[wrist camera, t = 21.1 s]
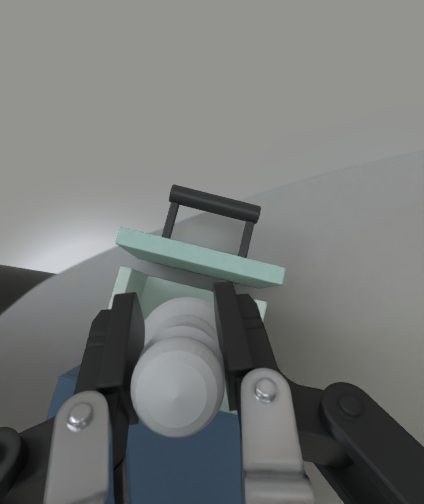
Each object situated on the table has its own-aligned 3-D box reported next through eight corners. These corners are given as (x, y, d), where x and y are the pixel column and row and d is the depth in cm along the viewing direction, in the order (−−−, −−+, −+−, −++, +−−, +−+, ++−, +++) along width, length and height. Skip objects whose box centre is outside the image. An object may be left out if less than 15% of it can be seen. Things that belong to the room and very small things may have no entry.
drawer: (154, 198, 28) (139, 161, 21) (271, 227, 29) (299, 202, 21) (97, 397, 26) (55, 441, 18) (227, 429, 26) (241, 486, 18)
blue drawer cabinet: (107, 348, 27) (59, 376, 18) (243, 381, 27) (268, 426, 18) (55, 526, 25) (-32, 670, 15) (204, 561, 25) (208, 724, 15)
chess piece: (135, 395, 14) (62, 513, 7) (141, 296, 15) (81, 294, 7) (233, 395, 15) (276, 509, 7) (233, 297, 15) (273, 297, 8)
